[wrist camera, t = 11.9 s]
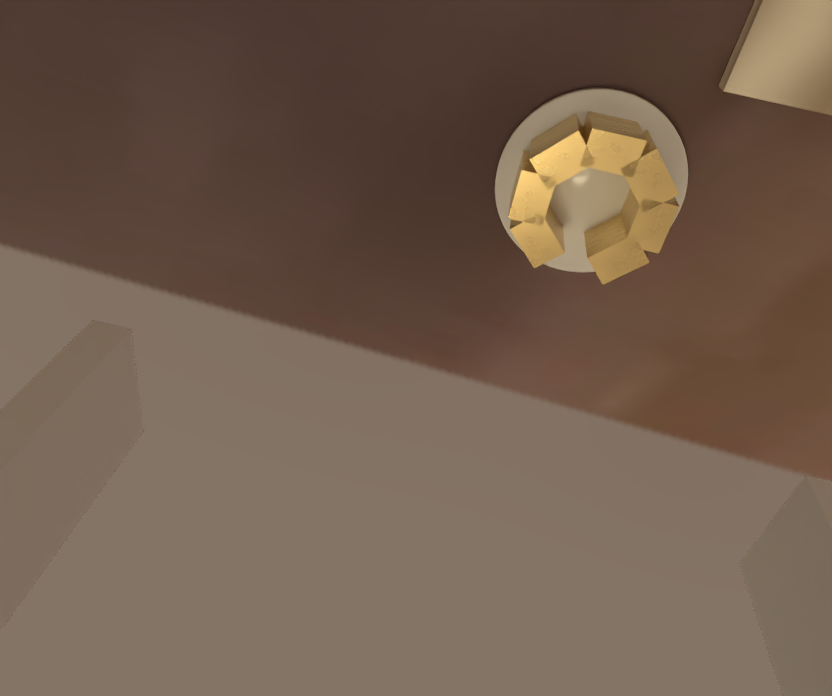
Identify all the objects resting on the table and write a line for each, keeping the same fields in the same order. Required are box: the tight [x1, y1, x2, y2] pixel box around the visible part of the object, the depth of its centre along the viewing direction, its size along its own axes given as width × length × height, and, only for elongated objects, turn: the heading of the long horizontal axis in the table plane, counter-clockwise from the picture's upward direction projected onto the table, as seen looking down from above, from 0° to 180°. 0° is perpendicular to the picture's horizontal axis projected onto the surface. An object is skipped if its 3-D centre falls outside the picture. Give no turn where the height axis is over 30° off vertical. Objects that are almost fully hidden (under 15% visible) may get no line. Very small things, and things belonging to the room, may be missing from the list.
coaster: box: [495, 87, 688, 272], centre depth 31 cm, size 9×9×1 cm
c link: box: [508, 111, 680, 284], centre depth 29 cm, size 7×7×3 cm
